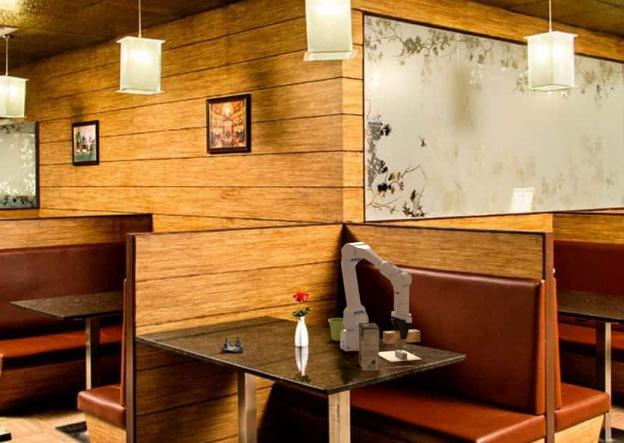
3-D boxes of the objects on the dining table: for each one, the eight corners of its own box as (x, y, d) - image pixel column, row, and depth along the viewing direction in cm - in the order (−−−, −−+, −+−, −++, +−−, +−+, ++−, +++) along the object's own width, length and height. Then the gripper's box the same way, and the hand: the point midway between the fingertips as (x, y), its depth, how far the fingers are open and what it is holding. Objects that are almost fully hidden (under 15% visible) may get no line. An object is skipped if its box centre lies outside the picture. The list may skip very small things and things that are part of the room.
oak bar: (387, 343, 309) (387, 333, 309) (382, 341, 313) (382, 331, 312) (420, 341, 313) (420, 331, 313) (415, 339, 317) (415, 329, 317)
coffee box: (358, 364, 305) (358, 322, 304) (375, 364, 305) (375, 322, 304) (361, 370, 296) (362, 327, 295) (379, 370, 296) (379, 327, 295)
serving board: (390, 363, 307) (390, 361, 307) (374, 354, 322) (374, 352, 322) (421, 361, 311) (421, 359, 311) (403, 352, 326) (404, 350, 326)
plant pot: (324, 340, 347) (324, 320, 347) (332, 336, 356) (332, 317, 355) (345, 342, 344) (345, 322, 343) (352, 338, 352) (352, 318, 352)
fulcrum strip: (402, 359, 310) (402, 353, 310) (394, 355, 316) (394, 350, 316) (407, 359, 310) (407, 353, 310) (399, 355, 317) (399, 349, 317)
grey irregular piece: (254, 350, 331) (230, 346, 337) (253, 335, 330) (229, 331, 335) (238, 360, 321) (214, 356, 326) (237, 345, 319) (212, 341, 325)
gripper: (419, 305, 306) (418, 341, 307) (402, 299, 320) (402, 333, 321) (402, 306, 304) (401, 342, 305) (386, 300, 318) (386, 334, 319)
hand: (401, 337), depth 313 cm, fingers closed on oak bar, 4 cm apart
